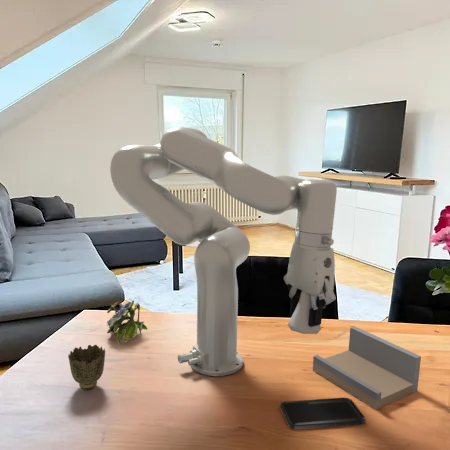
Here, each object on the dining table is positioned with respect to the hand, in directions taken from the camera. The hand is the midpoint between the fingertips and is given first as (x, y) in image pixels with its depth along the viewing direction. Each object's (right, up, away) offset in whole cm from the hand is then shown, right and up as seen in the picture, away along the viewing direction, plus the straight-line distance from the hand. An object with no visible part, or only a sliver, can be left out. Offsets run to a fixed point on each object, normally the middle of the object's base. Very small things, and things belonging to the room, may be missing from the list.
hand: (304, 319), depth 92 cm
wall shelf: (+13, -15, +3) cm, 20 cm away
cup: (-47, -14, -2) cm, 49 cm away
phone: (+1, -17, -9) cm, 20 cm away
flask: (0, -2, 0) cm, 2 cm away
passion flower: (-44, -10, +24) cm, 52 cm away
